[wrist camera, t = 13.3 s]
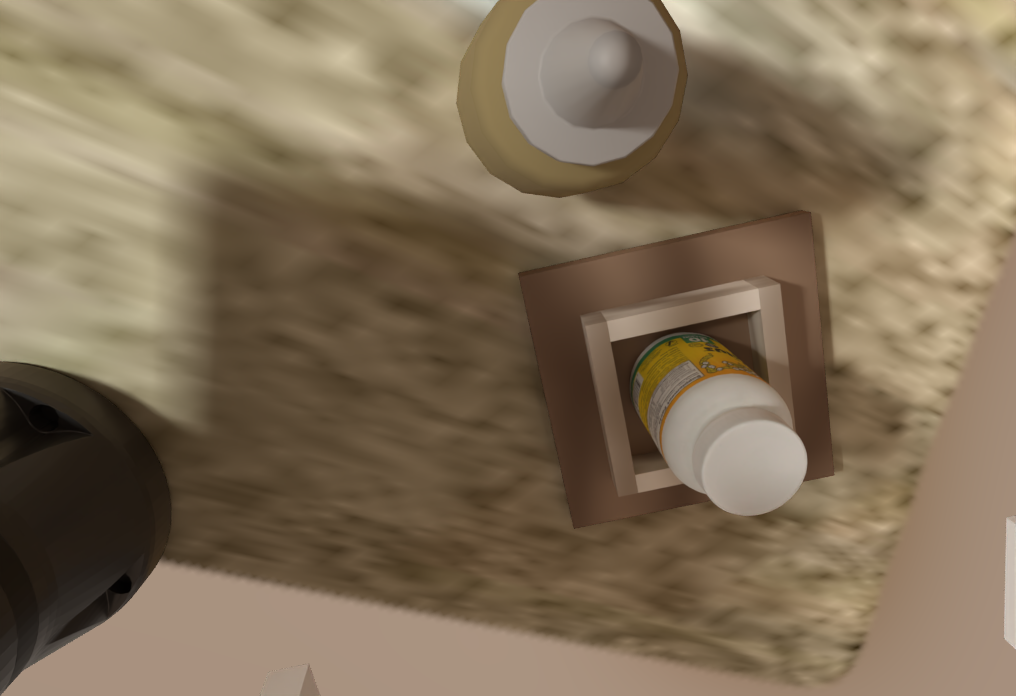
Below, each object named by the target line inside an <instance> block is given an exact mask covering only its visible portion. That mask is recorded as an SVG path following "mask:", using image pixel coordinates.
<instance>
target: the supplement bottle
mask: <svg viewBox="0 0 1016 696" xmlns="http://www.w3.org/2000/svg"><path fill="white" fill-rule="evenodd" d="M629 390H630V397H631V400H632V404H633V406H634V408H635V410H636V412H637V414H638V416H639V417H640V419H641V421H642V422H643V424H644V426H645V427H646V429H647V430H648V432H649V434H650V435H651V437H652V439H653V440H654V442H655V444H656V446H657V448H658V449H659V451H660V453H661V454H662V456H663V458H664V460H665V461H666V463H667V464H668V466H669V468H670V469H671V470H672V472H673V473H674V474H675V476H676V477H677V478H678V479H679V480H680V481H681V482H683V483H684V484H685V485H687V486H688V487H690V488H692V489H694V490H696V491H698V492H701V493H704V494H707V496H708V497H709V498H710V500H711V501H712V502H713V503H714V504H715V505H717V506H718V507H719V508H721V509H723V510H724V511H726V512H729V513H732V514H736V515H742V516H754V515H760V514H764V513H767V512H770V511H772V510H774V509H777V508H778V507H780V506H782V505H783V504H784V503H786V502H787V501H788V500H789V499H790V498H791V497H792V496H793V495H794V494H795V493H796V492H797V490H798V489H799V487H800V486H801V484H802V482H803V480H804V477H805V474H806V471H807V453H806V449H805V447H804V444H803V442H802V440H801V439H800V437H799V436H798V435H797V433H796V432H795V431H794V430H793V424H792V418H791V415H790V412H789V409H788V407H787V405H786V403H785V402H784V400H783V399H782V397H781V396H780V395H779V394H778V392H777V391H776V390H775V389H774V388H773V387H772V386H770V385H769V384H768V383H767V382H765V381H764V380H763V379H762V378H761V377H759V376H758V375H757V374H756V373H755V372H753V371H752V370H751V369H750V368H749V367H748V366H747V365H745V364H744V363H743V362H742V361H741V360H740V359H738V358H737V357H736V356H735V355H734V354H732V353H731V352H730V351H729V350H728V349H727V348H726V347H724V346H723V345H722V344H721V343H719V342H718V341H717V340H715V339H713V338H711V337H709V336H707V335H704V334H699V333H690V332H680V333H673V334H669V335H666V336H663V337H661V338H659V339H657V340H656V341H654V342H653V343H652V344H650V345H649V346H648V347H647V348H646V349H645V350H644V351H643V352H642V353H641V354H640V356H639V357H638V359H637V360H636V362H635V364H634V366H633V369H632V372H631V376H630V382H629Z"/></svg>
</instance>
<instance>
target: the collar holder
mask: <svg viewBox="0 0 1016 696" xmlns="http://www.w3.org/2000/svg"><path fill="white" fill-rule="evenodd" d="M518 274H519V279H520V284H521V288H522V293H523V297H524V302H525V307H526V311H527V316H528V320H529V325H530V330H531V334H532V339H533V343H534V348H535V352H536V357H537V362H538V366H539V371H540V375H541V380H542V385H543V389H544V394H545V398H546V403H547V407H548V412H549V417H550V421H551V426H552V430H553V435H554V440H555V444H556V449H557V453H558V458H559V462H560V467H561V472H562V476H563V481H564V485H565V490H566V495H567V499H568V504H569V508H570V513H571V517H572V522H573V527H574V529H575V528H580V527H585V526H589V525H594V524H599V523H604V522H609V521H614V520H619V519H624V518H628V517H633V516H638V515H643V514H648V513H653V512H658V511H662V510H667V509H672V508H677V507H682V506H687V505H692V504H697V503H701V502H706V501H711V500H710V498H709V497H708V496H707V494H704V493H701V492H698V491H696V490H694V489H692V488H690V487H688V486H687V485H685V484H684V483H683V482H681V481H680V480H679V479H678V478H677V477H676V476H675V474H674V473H673V472H672V470H671V469H670V468H669V466H668V464H667V463H666V461H665V460H664V458H663V456H662V454H661V453H660V451H659V449H658V448H657V446H656V444H655V442H654V440H653V439H652V437H651V435H650V434H649V432H648V430H647V429H646V427H645V426H644V424H643V422H642V421H641V419H640V417H639V416H638V414H637V412H636V410H635V408H634V406H633V404H632V400H631V397H630V390H629V382H630V376H631V372H632V369H633V366H634V364H635V362H636V360H637V359H638V357H639V356H640V354H641V353H642V352H643V351H644V350H645V349H646V348H647V347H648V346H649V345H650V344H652V343H653V342H654V341H656V340H657V339H659V338H661V337H663V336H666V335H669V334H673V333H680V332H690V333H699V334H704V335H707V336H709V337H711V338H713V339H715V340H717V341H718V342H719V343H721V344H722V345H723V346H724V347H726V348H727V349H728V350H729V351H730V352H731V353H732V354H734V355H735V356H736V357H737V358H738V359H740V360H741V361H742V362H743V363H744V364H745V365H747V366H748V367H749V368H750V369H751V370H752V371H753V372H755V373H756V374H757V375H758V376H759V377H761V378H762V379H763V380H764V381H765V382H767V383H768V384H769V385H770V386H772V387H773V388H774V389H775V390H776V391H777V392H778V394H779V395H780V396H781V397H782V399H783V400H784V402H785V403H786V405H787V407H788V409H789V412H790V415H791V418H792V424H793V430H794V431H795V432H796V433H797V435H798V436H799V437H800V439H801V440H802V442H803V444H804V447H805V449H806V453H807V471H806V474H805V477H804V480H803V482H804V481H809V480H813V479H818V478H823V477H828V476H833V475H834V466H833V455H832V444H831V433H830V421H829V410H828V399H827V388H826V377H825V366H824V354H823V343H822V332H821V321H820V310H819V299H818V288H817V276H816V265H815V254H814V243H813V232H812V221H811V212H807V211H803V210H801V211H796V212H792V213H787V214H783V215H778V216H774V217H769V218H765V219H760V220H755V221H751V222H746V223H742V224H737V225H733V226H728V227H724V228H719V229H715V230H710V231H706V232H701V233H697V234H692V235H688V236H683V237H679V238H674V239H670V240H665V241H661V242H656V243H652V244H647V245H643V246H638V247H634V248H629V249H624V250H620V251H615V252H611V253H606V254H602V255H597V256H593V257H588V258H584V259H579V260H575V261H570V262H566V263H561V264H557V265H552V266H548V267H543V268H539V269H534V270H530V271H525V272H521V273H518Z"/></svg>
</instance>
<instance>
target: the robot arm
mask: <svg viewBox="0 0 1016 696" xmlns="http://www.w3.org/2000/svg"><path fill="white" fill-rule="evenodd" d="M170 523H171V504H170V495H169V490H168V486H167V482H166V478H165V475H164V473H163V470H162V467H161V465H160V463H159V461H158V459H157V457H156V455H155V453H154V451H153V449H152V448H151V446H150V445H149V443H148V441H147V440H146V439H145V437H144V436H143V435H142V433H141V432H140V431H139V429H138V428H137V427H136V426H135V425H134V424H133V422H132V421H131V420H130V419H129V418H128V417H127V416H126V415H125V414H124V413H123V412H121V411H120V410H119V409H118V408H117V407H116V406H115V405H113V404H112V403H111V402H110V401H108V400H107V399H106V398H104V397H103V396H101V395H100V394H98V393H97V392H95V391H94V390H92V389H90V388H89V387H87V386H85V385H83V384H81V383H80V382H78V381H76V380H73V379H71V378H69V377H67V376H64V375H62V374H59V373H56V372H54V371H50V370H47V369H44V368H40V367H36V366H32V365H26V364H20V363H11V362H0V695H1V694H2V693H3V692H4V691H5V690H6V689H7V687H8V686H9V685H10V684H11V683H12V682H13V681H14V679H15V678H16V677H17V676H18V675H19V674H20V673H21V672H22V671H23V670H24V669H26V668H28V667H30V666H31V665H33V664H35V663H36V662H38V661H39V660H41V659H43V658H45V657H46V656H48V655H50V654H51V653H53V652H55V651H56V650H58V649H59V648H61V647H63V646H65V645H66V644H68V643H70V642H71V641H73V640H75V639H76V638H78V637H80V636H82V635H83V634H85V633H86V632H88V631H90V630H92V629H93V628H95V627H96V626H98V625H100V624H102V623H103V622H105V621H106V620H107V619H109V618H110V617H111V616H112V615H114V614H115V613H116V612H118V611H119V610H120V609H121V608H122V607H123V606H124V605H125V604H126V603H127V602H128V601H129V600H130V599H131V598H132V597H133V595H134V594H135V593H136V592H137V590H138V589H139V588H140V586H141V585H142V584H143V583H144V581H145V580H146V579H147V578H148V576H149V575H150V574H151V572H152V571H153V570H154V568H155V567H156V565H157V563H158V562H159V560H160V558H161V556H162V554H163V551H164V549H165V546H166V543H167V539H168V535H169V530H170ZM1004 639H1005V640H1006V641H1007V642H1008V643H1010V644H1011V645H1012V646H1013V647H1014V648H1015V649H1016V515H1015V516H1010V517H1007V518H1006V563H1005V615H1004ZM260 696H320V694H319V691H318V688H317V685H316V682H315V679H314V677H313V674H312V671H311V668H310V666H309V664H305V665H300V666H295V667H291V668H285V669H281V670H276V671H271V672H268V674H267V677H266V680H265V683H264V685H263V688H262V691H261V694H260Z"/></svg>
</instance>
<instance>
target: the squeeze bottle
mask: <svg viewBox="0 0 1016 696" xmlns="http://www.w3.org/2000/svg"><path fill="white" fill-rule="evenodd" d="M687 77H688V74H687V68H686V63H685V57H684V51H683V45H682V40H681V34H680V30H679V28H678V27H677V25H676V24H675V22H674V20H673V19H672V17H671V16H670V14H669V12H668V11H667V9H666V8H665V6H664V4H663V3H662V1H661V0H499V1H498V2H497V3H496V4H495V6H494V7H493V9H492V10H491V11H490V13H489V14H488V15H487V17H486V18H485V19H484V21H483V22H482V23H481V25H480V26H479V28H478V30H477V32H476V34H475V36H474V38H473V40H472V42H471V44H470V46H469V47H468V49H467V51H466V53H465V55H464V57H463V59H462V61H461V65H460V74H459V84H458V93H457V102H456V104H457V108H458V111H459V115H460V119H461V122H462V126H463V130H464V133H465V137H466V141H467V143H468V144H469V146H470V147H471V148H472V150H473V151H474V153H475V154H476V155H477V157H478V158H479V159H480V161H481V162H482V163H483V165H484V166H485V167H486V169H487V170H488V171H489V173H490V174H492V175H494V176H495V177H497V178H499V179H500V180H502V181H504V182H505V183H507V184H509V185H510V186H512V187H514V188H515V189H517V190H519V191H520V192H522V193H528V194H535V195H543V196H550V197H557V198H561V197H566V196H572V195H577V194H582V193H586V192H590V191H594V190H597V189H601V188H605V187H608V186H612V185H616V184H620V183H622V182H624V181H625V180H626V179H628V178H629V177H630V176H632V175H633V174H634V173H636V172H637V171H638V170H640V169H641V168H642V167H644V166H645V165H646V164H648V163H649V162H650V161H651V160H653V159H654V158H655V157H656V156H657V155H658V153H659V151H660V150H661V148H662V146H663V145H664V143H665V142H666V140H667V138H668V137H669V135H670V134H671V132H672V130H673V129H674V127H675V125H676V124H677V122H678V121H679V117H680V112H681V107H682V102H683V97H684V92H685V87H686V82H687Z"/></svg>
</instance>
